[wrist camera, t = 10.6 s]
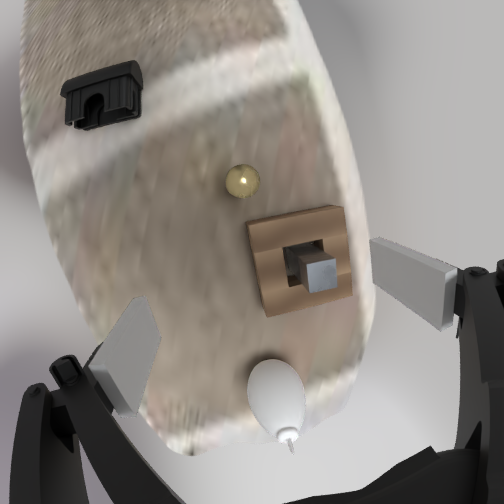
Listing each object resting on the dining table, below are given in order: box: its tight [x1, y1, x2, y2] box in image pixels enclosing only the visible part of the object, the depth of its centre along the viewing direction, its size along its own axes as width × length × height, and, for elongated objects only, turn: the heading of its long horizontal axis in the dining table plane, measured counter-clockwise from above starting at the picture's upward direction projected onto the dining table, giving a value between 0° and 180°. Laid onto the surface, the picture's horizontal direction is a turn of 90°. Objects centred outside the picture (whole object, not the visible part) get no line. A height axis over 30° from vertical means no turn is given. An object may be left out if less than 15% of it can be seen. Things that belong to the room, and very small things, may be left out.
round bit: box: [226, 164, 260, 198], centre depth 30 cm, size 3×3×10 cm
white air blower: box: [247, 359, 306, 454], centre depth 33 cm, size 8×8×18 cm
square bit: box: [285, 242, 338, 293], centre depth 33 cm, size 3×3×10 cm
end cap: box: [60, 60, 143, 130], centre depth 28 cm, size 10×7×7 cm
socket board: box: [246, 205, 353, 317], centre depth 36 cm, size 12×12×4 cm
